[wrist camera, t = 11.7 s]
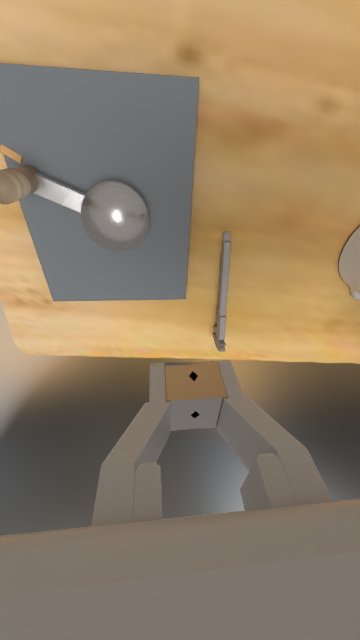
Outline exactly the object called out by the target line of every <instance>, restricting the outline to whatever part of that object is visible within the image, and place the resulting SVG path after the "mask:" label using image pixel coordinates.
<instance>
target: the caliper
mask: <svg viewBox="0 0 360 640" xmlns="http://www.w3.org/2000/svg"><path fill="white" fill-rule="evenodd" d="M230 248H231V242H230V232H223V242H222V251H221V269H220V287H219V305H218V312H217V326H214V328H213V329H214V331H215V333H213V338H214V341H215V345H216V347H217V349H218V351H220V352H221V351H225V347H224V346H226V344H225V342H224V339H225V326H226V302H227V289H228V275H229V262H230Z"/></svg>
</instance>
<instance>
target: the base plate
mask: <svg viewBox="0 0 360 640" xmlns="http://www.w3.org/2000/svg"><path fill="white" fill-rule="evenodd" d="M198 89H199V78H197V77H183V76H169V75H155V74H142V73H128V72H114V71H100V70H86V69H72V68H59V67H45V66H31V65H17V64H3V63H0V146H1V148H0V152H1V153H3V155H4V158H5V161H6V164H7V167H8V168H13V167H17V166H22V165H31V166H33V167H35V168H36V169H37V170H38V171H39V172H40V173H41V174H43V175H45V176H47V177H50V178H52V179H54V180H56V181H59V182H61V183H63V184H65V185H68V186H70V187H72V188H74V189H77V190H79V191H81V192H83V193H87V192H88V191H89V190H90V189H91V188H93V187H94V186H95V185H96V184H98V183H100V182H102V181H105V180H120V181H123V182H126V183H128V184H129V185H131V186H133V187H134V188H135V189H136V190H137V191H138V192H139V193H140V194H141V195H142V197H143V198H144V200H145V202H146V205H147V208H148V212H149V225H148V230H147V234H146V236H145V238H144V239H143V241H142V242H141V243H140V244H139V245H138V246H137V247H135V248H133V249H131V250H128V251H124V252H115V251H110V250H107V249H105V248H103V247H101V246H99V245H98V244H96V243H95V242H94V241H93V240H92V239H91V238H90V237H89V235H88V234H87V232H86V231H85V229H84V226H83V224H82V220H81V213H80V212H78V211H75V210H73V209H70V208H68V207H66V206H63V205H61V204H58V203H56V202H54V201H51V200H49V199H46V198H44V197H42V196H39V195H37V194H34V193H32V194H30V195H28V196H25V197H23V198H21V199H19V202H20V205H21V208H22V211H23V214H24V217H25V220H26V222H27V225H28V228H29V231H30V234H31V237H32V240H33V243H34V246H35V249H36V252H37V255H38V258H39V261H40V264H41V266H42V269H43V272H44V275H45V278H46V281H47V284H48V287H49V290H50V293H51V296H52V299H53V301H103V300H167V299H186V284H187V268H188V252H189V235H190V219H191V203H192V187H193V170H194V154H195V138H196V122H197V106H198Z"/></svg>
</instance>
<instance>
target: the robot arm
mask: <svg viewBox="0 0 360 640" xmlns="http://www.w3.org/2000/svg"><path fill="white" fill-rule="evenodd" d="M339 273H340V276H341V278H342V280H343V281H344V282H345V283H346V284H347V285H348V286H349V287H350V293H351V296H352V297H353V298H355V299H356V300H360V226H359V228H358V229H357V230H356V231H355V232H354V233H353V234H352V236H351V237H350V239H349V240H348V242H347V243H346V245H345V247H344V249H343V251H342V253H341V256H340V260H339ZM193 428H194V429H196V428H216V429H217V431H218V432H219V433H220V434H221V436H222V437H223V438H224V440H225V441H226V442H227V443H228V445H229V446H230V447H231V448H232V450H233V451H234V452H235V454H236V455H237V456H238V457H239V459H240V460H241V461H242V463H243V464H244V465H245V466H246V468H247V469H248V470H249V474H248V476H247V477H246V479H245V481H244V483H243V485H242V487H241V489H240V491H241V496H242V500H243V504H244V508H245V511H237V512H228V513H219V514H208V515H199V516H190V517H179V518H170V519H162V498H161V468H160V466H159V465H158V464H156V461H157V459H158V457H159V455H160V453H161V451H162V449H163V447H164V445H165V442H166V440H167V438H168V436H169V434H170V431H173V430H184V429H193ZM0 640H360V499H353V500H343V501H332V499H331V497H330V494H329V492H328V490H327V488H326V486H325V484H324V482H323V480H322V478H321V476H320V474H319V472H318V470H317V468H316V466H315V465H314V462H313V460H312V458H311V456H310V454H309V452H308V450H307V449H306V448H305V447H304V446H303V445H302V444H301V443H300V442H298V441H297V440H296V439H295V438H294V437H293V436H292V435H290V434H289V433H288V432H287V431H286V430H285V429H284V428H283V427H281V426H280V425H279V424H278V423H277V422H276V421H274V420H273V419H272V418H271V417H270V416H269V415H268V414H266V413H265V412H264V411H263V410H262V409H261V408H260V407H259V406H257V405H256V404H255V403H254V402H253V401H252V400H251V399H249V398H248V397H243V394H242V391H241V388H240V385H239V383H238V380H237V377H236V374H235V371H234V369H233V366H232V363H231V361H230V360H223V361H202V362H201V361H200V362H188V363H187V362H186V363H151V364H150V401H149V403H145V404H144V405H143V407H142V408H141V410H140V411H139V413H138V414H137V415H136V417H135V418H134V420H133V421H132V422H131V424H130V425H129V427H128V428H127V430H126V431H125V432H124V434H123V435H122V437H121V438H120V440H119V441H118V442H117V444H116V445H115V447H114V448H113V449H112V451H111V452H110V454H109V455H108V456H107V458H106V460H105V461H104V462H103V464H102V465H101V471H100V477H99V483H98V489H97V496H96V502H95V508H94V515H93V520H92V526H91V527H84V528H74V529H64V530H55V531H46V532H35V533H26V534H17V535H6V536H0Z"/></svg>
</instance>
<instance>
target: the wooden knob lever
mask: <svg viewBox="0 0 360 640" xmlns="http://www.w3.org/2000/svg"><path fill="white" fill-rule="evenodd" d="M32 193H34V194H37V195H39V196H42V197H44V198H46V199H49V200H51V201H54V202H56V203H58V204H61V205H63V206H66V207H68V208H70V209H73V210H75V211H78V212H80V213H81V220H82V224H83V226H84V229H85V231H86V232H87V234H88V235H89V237H90V238H91V239H92V240H93V241H94V242H95V243H96V244H98V245H99V246H101V247H103V248H105V249H107V250H110V251H115V252H124V251H128V250H131V249H133V248H135V247H137V246H138V245H139V244H140V243H141V242H142V241H143V239H144V238H145V236H146V234H147V230H148V225H149V212H148V208H147V205H146V202H145V200H144V198H143V197H142V195H141V194H140V193H139V192H138V191H137V190H136V189H135V188H134V187H133V186H131V185H129V184H128V183H126V182H123V181H120V180H105V181H102V182H100V183H98V184H96V185H95V186H94V187H93V188H91V189H90V190H89V191H88V192H87V193H83V192H81V191H79V190H77V189H74V188H72V187H70V186H68V185H65V184H63V183H61V182H59V181H56V180H54V179H52V178H50V177H47V176H45V175H43V174H41V173H40V172H39V171H38V170H37V169H36V168H35V167H33V166H31V165H22V166H17V167H13V168H8V169H3V170H0V203H1V204H10V203H12V202H15V201H17V200H19V199H21V198H23V197H25V196H28V195H30V194H32Z"/></svg>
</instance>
